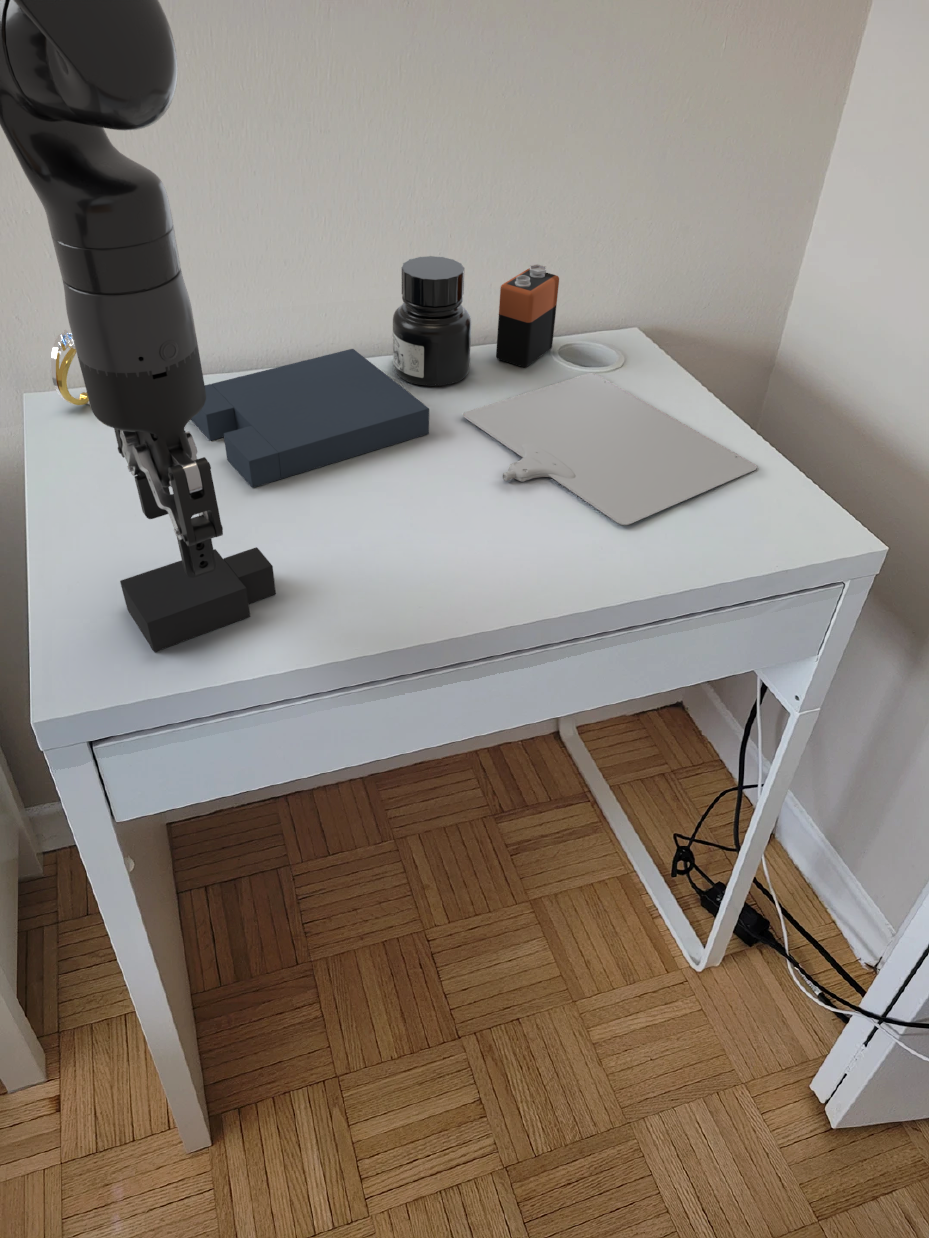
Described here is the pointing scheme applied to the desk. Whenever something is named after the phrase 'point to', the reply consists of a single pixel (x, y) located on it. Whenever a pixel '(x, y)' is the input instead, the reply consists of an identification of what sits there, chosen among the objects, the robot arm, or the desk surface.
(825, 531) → the desk surface
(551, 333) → the battery
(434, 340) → the ink bottle
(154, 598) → the pad tile
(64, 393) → the ring
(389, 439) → the pad mat
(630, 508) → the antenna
